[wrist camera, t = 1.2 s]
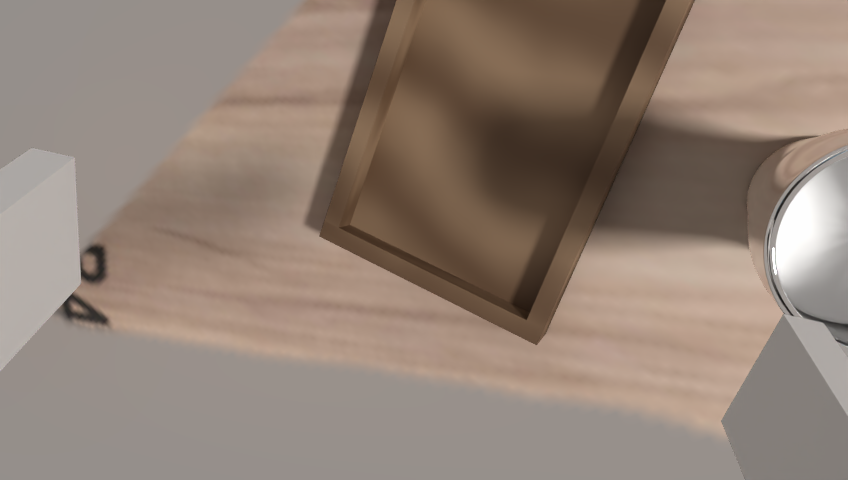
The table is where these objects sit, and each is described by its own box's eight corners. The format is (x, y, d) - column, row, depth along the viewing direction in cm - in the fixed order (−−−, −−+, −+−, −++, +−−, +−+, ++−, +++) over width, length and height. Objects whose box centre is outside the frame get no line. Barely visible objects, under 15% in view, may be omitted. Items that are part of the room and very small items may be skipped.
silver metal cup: (710, 170, 35) (712, 199, 21) (859, 98, 32) (974, 76, 18) (777, 296, 34) (824, 408, 21) (933, 234, 32) (1107, 316, 18)
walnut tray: (450, -106, 37) (435, -120, 35) (706, -27, 33) (706, -37, 31) (337, 231, 43) (319, 236, 41) (545, 334, 39) (536, 345, 37)
